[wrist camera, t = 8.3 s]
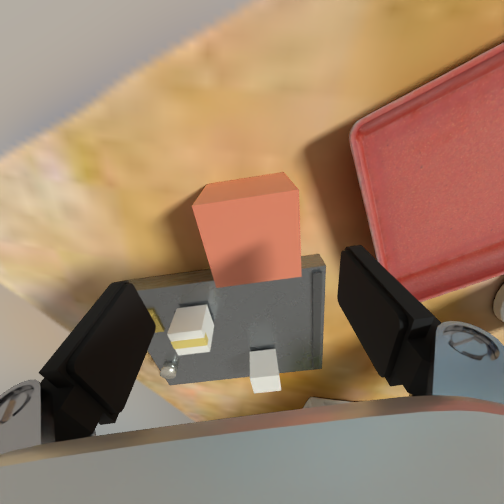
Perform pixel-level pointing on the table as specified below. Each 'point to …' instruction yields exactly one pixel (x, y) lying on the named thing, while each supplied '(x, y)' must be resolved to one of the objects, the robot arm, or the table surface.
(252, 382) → the toggle
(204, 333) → the toggle
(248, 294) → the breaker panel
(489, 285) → the table surface
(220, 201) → the cap
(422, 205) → the plant saucer
